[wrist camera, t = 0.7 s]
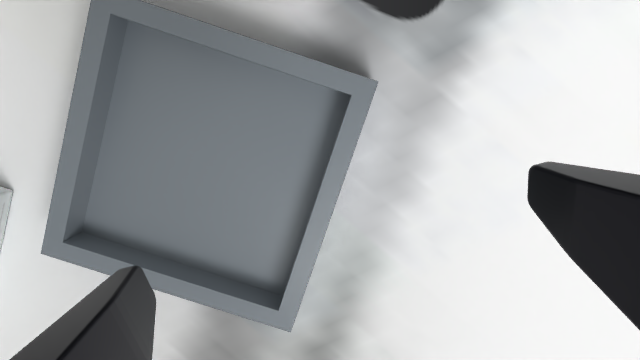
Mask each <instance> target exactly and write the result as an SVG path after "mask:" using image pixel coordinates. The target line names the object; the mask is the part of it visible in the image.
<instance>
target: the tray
mask: <svg viewBox="0 0 640 360" xmlns="http://www.w3.org/2000/svg"><path fill="white" fill-rule="evenodd" d="M377 84H378V81H375V80H372V79H369V78H366V77H364V76H361V75H358V74H355V73H352V72H349V71H346V70H343V69H340V68H337V67H334V66H331V65H328V64H325V63H322V62H319V61H317V60H314V59H311V58H308V57H305V56H302V55H299V54H296V53H293V52H290V51H287V50H284V49H281V48H278V47H275V46H273V45H270V44H267V43H264V42H261V41H258V40H255V39H252V38H249V37H246V36H243V35H240V34H237V33H234V32H231V31H228V30H226V29H223V28H220V27H217V26H214V25H211V24H208V23H205V22H202V21H199V20H196V19H193V18H190V17H187V16H184V15H181V14H179V13H176V12H173V11H170V10H167V9H164V8H161V7H158V6H155V5H152V4H149V3H146V2H143V1H140V0H91V3H90V8H89V13H88V18H87V23H86V29H85V34H84V39H83V44H82V49H81V54H80V59H79V64H78V69H77V74H76V79H75V84H74V89H73V94H72V99H71V104H70V109H69V114H68V119H67V124H66V129H65V134H64V139H63V145H62V150H61V155H60V160H59V165H58V170H57V175H56V180H55V185H54V190H53V195H52V200H51V205H50V210H49V215H48V220H47V225H46V230H45V235H44V240H43V245H42V250H41V254H44V255H47V256H50V257H53V258H57V259H60V260H63V261H66V262H69V263H72V264H76V265H79V266H82V267H85V268H88V269H91V270H95V271H98V272H101V273H104V274H107V275H110V276H111V275H112V274H114V273H115V272H116V271H117V270H119V269H122V268H126V267H130V266H134V265H138V266H140V267H141V268H142V270H143V271H144V273H145V275H146V277H147V279H148V282H149V284H150V286H151V288H152V289H155V290H158V291H161V292H164V293H168V294H171V295H174V296H177V297H180V298H183V299H187V300H190V301H193V302H196V303H199V304H202V305H206V306H209V307H212V308H215V309H218V310H222V311H225V312H228V313H231V314H234V315H237V316H241V317H244V318H247V319H250V320H253V321H256V322H260V323H263V324H266V325H269V326H272V327H275V328H279V329H282V330H285V331H288V332H291V330H292V327H293V324H294V321H295V318H296V316H297V313H298V310H299V307H300V304H301V301H302V298H303V296H304V293H305V290H306V287H307V284H308V281H309V278H310V276H311V273H312V270H313V267H314V264H315V261H316V258H317V256H318V253H319V250H320V247H321V244H322V241H323V238H324V236H325V233H326V230H327V227H328V224H329V221H330V218H331V216H332V213H333V210H334V207H335V204H336V201H337V199H338V196H339V193H340V190H341V187H342V184H343V181H344V179H345V176H346V173H347V170H348V167H349V164H350V161H351V159H352V156H353V153H354V150H355V147H356V144H357V141H358V139H359V136H360V133H361V130H362V127H363V124H364V121H365V119H366V116H367V113H368V110H369V107H370V104H371V101H372V99H373V96H374V93H375V90H376V87H377Z"/></svg>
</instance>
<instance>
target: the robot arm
mask: <svg viewBox="0 0 640 360" xmlns="http://www.w3.org/2000/svg"><path fill="white" fill-rule="evenodd" d="M528 202H529V205H530V207H531V208H532V210H533V211H534V212H535V213H536V215H537V216H538V217H539V219H540V220H541V221H542V222H543V224H544V225H545V226H546V228H547V229H548V230H549V232H550V233H551V234H552V235H553V237H554V238H555V239H556V241H557V242H558V243H559V244H560V246H561V247H562V248H563V249H564V251H565V252H566V253H567V254H568V255H569V257H570V258H571V259H572V260H573V261H574V262H575V263H576V264H577V265H578V266H579V267H580V269H581V270H582V271H583V272H584V273H585V274H586V275H587V276H588V277H589V278H590V279H591V280H592V281H593V282H594V283H595V284H596V285H597V286H598V287H599V288H600V289H601V290H602V291H603V292H604V294H605V295H606V296H607V297H608V298H609V299H610V300H611V301H612V302H613V303H614V304H615V305H616V306H617V307H618V308H619V309H620V310H621V311H622V312H623V313H624V314H625V315H626V316H627V318H628V319H629V320H630V321H631V322H632V323H633V324H634V325H635V326H636V327H637V328H638V329H639V330H640V175H637V174H631V173H624V172H617V171H610V170H603V169H597V168H590V167H583V166H576V165H569V164H563V163H556V162H544V163H540V164H536V165H533V166H532V167H531V168H530V170H529V174H528ZM155 311H156V298H155V294H154V292H153V290H152V288H151V286H150V284H149V282H148V279H147V277H146V275H145V273H144V271H143V270H142V268H141V267H140V266H138V265H134V266H130V267H126V268H122V269H119V270H117V271H116V272H115V273H114V274H112V275H111V276H110V277H109V278H108V279H106V280H105V281H104V282H103V283H102V284H100V285H99V286H98V287H97V288H96V289H94V290H93V291H92V292H91V293H90V294H88V295H87V296H86V297H85V298H83V299H82V300H81V301H80V302H79V303H77V304H76V305H75V306H74V307H73V308H71V309H70V310H69V311H68V312H67V313H65V314H64V315H63V316H62V317H61V318H59V319H58V320H57V321H56V322H54V323H53V324H52V325H51V326H50V327H48V328H47V329H46V330H45V331H44V332H42V333H41V334H40V335H39V336H38V337H36V338H35V339H34V340H33V341H32V342H30V343H29V344H28V345H27V346H25V347H24V348H23V349H22V350H21V351H19V352H18V353H17V354H16V355H15V356H13V357H12V358H11V359H10V360H152V352H153V338H154V324H155Z"/></svg>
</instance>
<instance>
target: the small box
mask: <svg viewBox="0 0 640 360" xmlns="http://www.w3.org/2000/svg"><path fill="white" fill-rule="evenodd" d="M12 194H13V191H12V190H10V189H7V188H4V187H1V186H0V251H1V246H2V241H3V237H4V232H5V227H6V222H7V217H8V212H9V208H10V203H11V198H12Z"/></svg>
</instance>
